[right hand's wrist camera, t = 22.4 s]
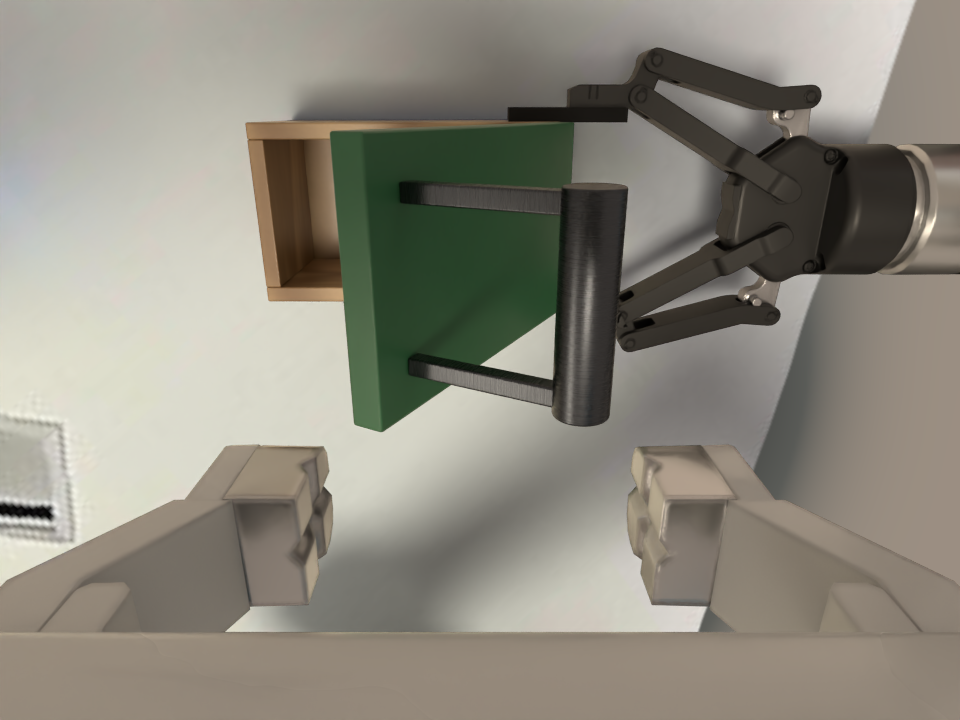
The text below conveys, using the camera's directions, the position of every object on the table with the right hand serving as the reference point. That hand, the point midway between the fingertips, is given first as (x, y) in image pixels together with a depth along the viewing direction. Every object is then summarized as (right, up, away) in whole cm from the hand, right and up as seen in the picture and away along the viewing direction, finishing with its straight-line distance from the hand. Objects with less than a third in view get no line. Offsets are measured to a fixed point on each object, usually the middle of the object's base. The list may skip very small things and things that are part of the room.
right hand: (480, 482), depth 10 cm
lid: (0, +7, +18) cm, 19 cm away
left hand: (+2, +11, +28) cm, 30 cm away
